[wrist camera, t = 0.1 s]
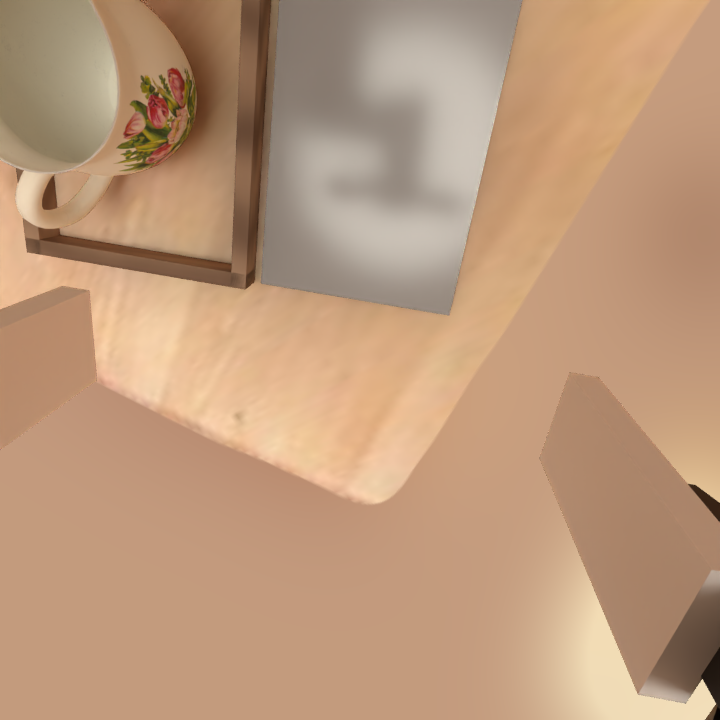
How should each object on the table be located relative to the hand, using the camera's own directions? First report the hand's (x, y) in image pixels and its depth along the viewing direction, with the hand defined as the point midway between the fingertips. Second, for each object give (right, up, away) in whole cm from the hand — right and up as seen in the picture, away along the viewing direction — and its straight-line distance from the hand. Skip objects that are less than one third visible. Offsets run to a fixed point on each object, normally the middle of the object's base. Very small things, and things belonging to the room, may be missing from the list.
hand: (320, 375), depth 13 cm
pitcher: (-15, +20, +24) cm, 35 cm away
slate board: (+2, +16, +24) cm, 28 cm away
